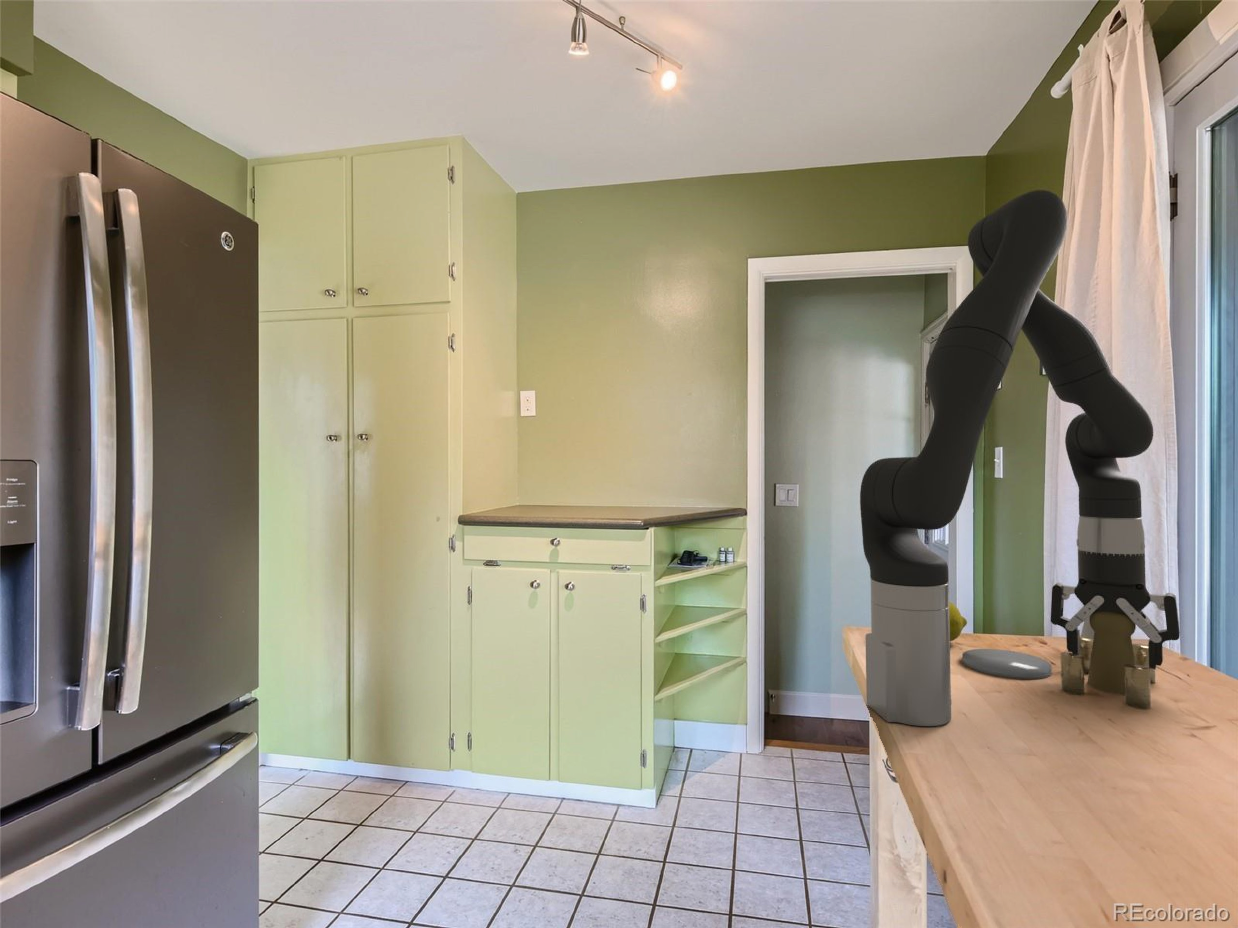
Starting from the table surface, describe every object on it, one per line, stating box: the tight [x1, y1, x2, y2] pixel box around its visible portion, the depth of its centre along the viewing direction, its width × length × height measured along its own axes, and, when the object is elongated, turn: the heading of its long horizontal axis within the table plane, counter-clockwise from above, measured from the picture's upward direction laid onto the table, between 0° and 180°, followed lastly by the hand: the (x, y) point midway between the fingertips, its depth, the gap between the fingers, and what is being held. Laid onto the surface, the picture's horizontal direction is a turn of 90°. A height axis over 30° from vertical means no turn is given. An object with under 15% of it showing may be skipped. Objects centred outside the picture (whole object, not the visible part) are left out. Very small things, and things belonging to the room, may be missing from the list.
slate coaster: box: [961, 648, 1053, 680], centre depth 97 cm, size 12×12×1 cm
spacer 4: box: [1124, 664, 1152, 710], centre depth 81 cm, size 3×3×5 cm
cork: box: [1086, 612, 1137, 696], centre depth 87 cm, size 6×6×11 cm
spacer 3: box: [1132, 643, 1156, 684], centre depth 90 cm, size 3×3×5 cm
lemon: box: [949, 601, 968, 642], centre depth 111 cm, size 11×8×8 cm
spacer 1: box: [1060, 652, 1086, 696], centre depth 86 cm, size 3×3×5 cm
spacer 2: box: [1080, 635, 1093, 675], centre depth 94 cm, size 3×3×5 cm
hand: (1113, 661), depth 87 cm, fingers open, 8 cm apart
